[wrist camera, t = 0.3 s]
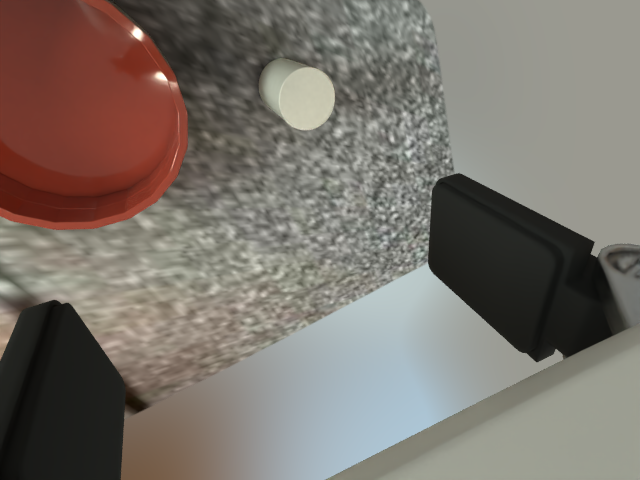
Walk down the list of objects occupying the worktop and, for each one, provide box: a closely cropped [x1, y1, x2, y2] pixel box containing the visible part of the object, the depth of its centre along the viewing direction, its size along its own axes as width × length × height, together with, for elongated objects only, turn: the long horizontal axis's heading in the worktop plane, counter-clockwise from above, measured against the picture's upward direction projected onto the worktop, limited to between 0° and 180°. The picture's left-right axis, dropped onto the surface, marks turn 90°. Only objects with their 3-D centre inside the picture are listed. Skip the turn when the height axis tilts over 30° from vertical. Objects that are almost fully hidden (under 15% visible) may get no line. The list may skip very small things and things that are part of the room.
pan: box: [0, 0, 188, 230], centre depth 25 cm, size 15×15×5 cm
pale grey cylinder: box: [259, 58, 335, 130], centre depth 29 cm, size 4×4×6 cm
